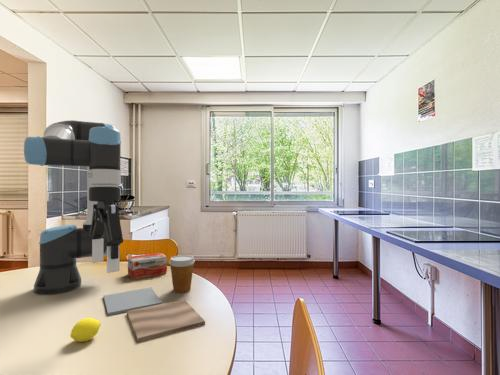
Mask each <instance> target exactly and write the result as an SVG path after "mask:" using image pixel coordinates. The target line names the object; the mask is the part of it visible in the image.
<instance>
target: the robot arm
mask: <svg viewBox="0 0 500 375" xmlns="http://www.w3.org/2000/svg"><path fill="white" fill-rule="evenodd" d="M121 144H122V138H121V132H120V130H119V129H117V128H116V127H115V126H114V125H113V124H110V123H103V122H91V121H82V120H81V121H79V120H61V121H58V122H55V123H51V124H49V125H48V126H47V127H46V128H45V129H44V131H43V136H39V135H38V136H27V137H25V139H24V144H23V156H24V161H25V163H27V164H28V165H33V166H34V165H35V166H57V167H58V166H59V167H60V166H62V167H63V166H64V167H84V168H85V167H86V170H87V172H86V178H87V179H86V182H87V183H86V184H87V185H86V186H87V187H86V188H87V189H86V191H87V193H86V196H87V197H86V199H87V201H86V204H87V205H86V209H87V210H86V211H87V212H86V215H87V216H86V220H84V222H83V223H82V227H79V228H77V227H78V226H77V225H76V224H66V225H65V224H64V225H60V226H54V227H51V228H50V227H49V228H46V229H44V230H42V231H41V232H40V234H39V242H38V245H39V269H38V274H37V276H36V279H35V282H34V285H33V292H34V293H35V294H37V295H54V294H55V295H56V294H61V293H66V292H69V291H72V290H75V289H77V288H79V287H81V285H82V277H81V274H80V271H79V269H78V266H77V259H82V258H91V259H92V261H91V263H92V264H97V263H104V257H105V256H106V273H107V274H111V273H116V272H120V271H121V270H120V269H121V268H120V260H121V259H120V254H121V253H120V249H121V248H120V245H121V244H123V243H124V238H123V232H122V225H121V220H120V214H119V213H120V210H119V207H120V206H119V204H115V203H114V202H119V201H121V198H122V197H121V195H122V194H121V191H122V190H121V188H120V187H119V186H121V185H122V170H121V157H122V156H121V154H122V152H121Z"/></svg>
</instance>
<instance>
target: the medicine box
mask: <svg viewBox="0 0 500 375" xmlns="http://www.w3.org/2000/svg"><path fill="white" fill-rule="evenodd" d="M167 271H168V258H167V256H166V255H165V254H164V253H162V252H155V253H148V254H141V255H134V256H133V255H132V256H128V258H127V275H129V277H130V278H131V279H132V280H135V279H141V278H146V277H153V276H159V275H166V274H167V273H168V272H167Z"/></svg>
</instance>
